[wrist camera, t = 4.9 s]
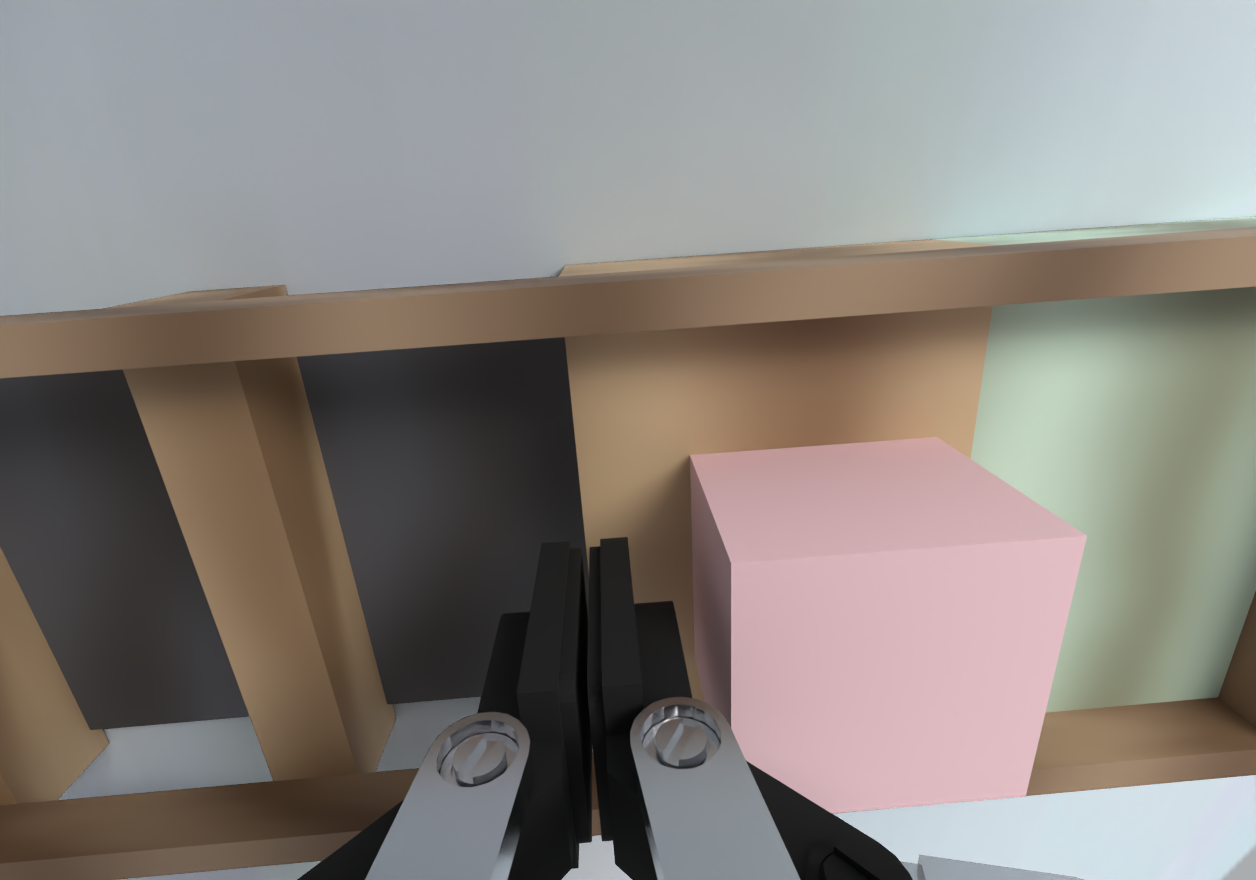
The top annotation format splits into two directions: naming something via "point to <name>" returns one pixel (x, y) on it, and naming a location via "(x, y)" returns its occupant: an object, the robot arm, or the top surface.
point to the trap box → (583, 499)
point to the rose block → (878, 619)
